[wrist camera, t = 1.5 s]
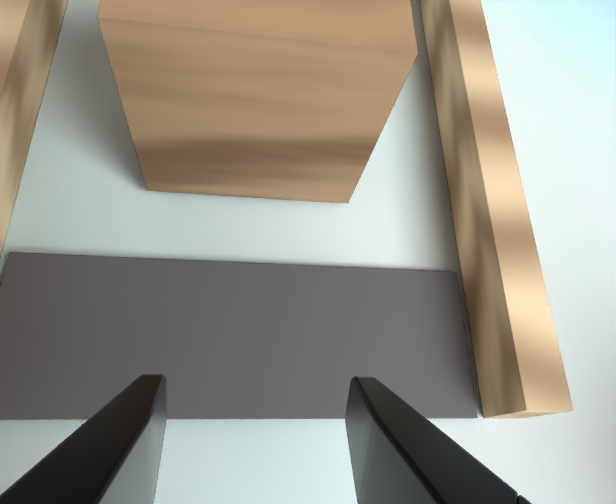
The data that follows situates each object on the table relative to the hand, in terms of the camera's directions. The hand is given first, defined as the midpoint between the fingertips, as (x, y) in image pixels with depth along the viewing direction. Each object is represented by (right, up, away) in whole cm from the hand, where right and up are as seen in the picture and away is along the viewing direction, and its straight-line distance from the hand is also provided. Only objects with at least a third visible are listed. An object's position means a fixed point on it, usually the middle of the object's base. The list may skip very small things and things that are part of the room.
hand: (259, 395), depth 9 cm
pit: (-2, -1, +13) cm, 13 cm away
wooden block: (-2, +7, +17) cm, 19 cm away
